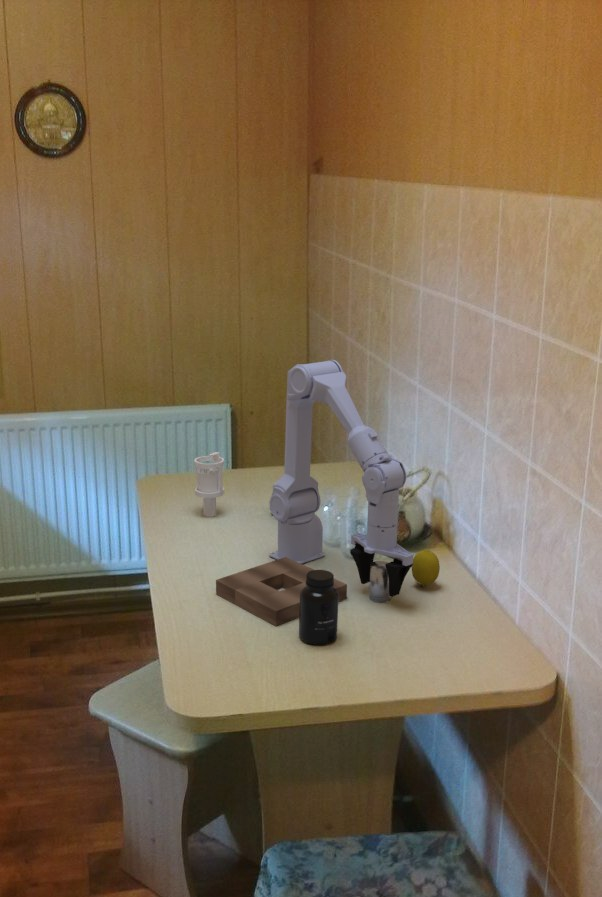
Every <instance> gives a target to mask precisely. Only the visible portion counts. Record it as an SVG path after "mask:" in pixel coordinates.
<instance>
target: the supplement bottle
mask: <svg viewBox="0 0 602 897" xmlns="http://www.w3.org/2000/svg"><path fill="white" fill-rule="evenodd" d="M334 576H335V575H334V573H333V572H331V571H329V570H325V569H314V570H312V571H309V572H308V573H307V575H306V586H305V587H304V588H303V589H302V590H301V592H300V610H299V619H298V636H299V639H301V640H302V641H303V642H304V643H306V644H309V645H314V646H324V645H330V644H332V643H333V642H334V641H335V640H336V639H337V636H338V622H339V618H338V617H339V602H340V601H339V594H338V592H337V590H336V589H335V588H334V587H333V586H334V579H335V578H334ZM338 601H339V602H338Z"/></svg>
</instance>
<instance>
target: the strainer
mask: <svg viewBox="0 0 602 897" xmlns="http://www.w3.org/2000/svg"><path fill="white" fill-rule="evenodd" d="M193 460H194V463H193V465H194V466H195V469H196V473H195V474H196V487H195V488H194V495H195V496H196V497H199V498H202V501H203V502H202V503H203V506H202V507H203V517H207V518H214V517H216V516H217V498H218V497H219V498H220V497H222V496H223V495H224V494H225V487H224V486H223V485H224V484H223V466H224V465H225V458H223V457H221V452H218V451H215V452H212V453H209V454H208V455H203V456H198V457H195V458H194V459H193ZM207 461H208V462H210V461H212V462H213V463H203V462H207ZM207 471H208V472H207Z"/></svg>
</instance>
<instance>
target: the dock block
mask: <svg viewBox="0 0 602 897" xmlns="http://www.w3.org/2000/svg"><path fill="white" fill-rule="evenodd" d="M312 570H315V569H314V568H311V567H309V566H307V565H305V564H304V563H302V564H301V563H298V562H296V561H294V560H292V559H289V558H287V557H284V558H281V559H278V560H277V559H275V560H272V561H269V562H267V563H263V564H260V565H257V566H254V567H251V568H248V569H245V570H242V571H239V572H236V573H233V574H230V575H227V576H224V577H221V578H218V579H215V595H217V596H219V597H221V599H224V600H227V601H228V602H231V603H232V604H233V605H235V606H237V607H239V608H241V609H243V610H245V611H247V612H248V613H251V614H253V615H254V616H256V617H257V618H260V619H261V620H263V621H265V622H267V623H270V624H271V625H273V626H274V627H278V626H281V625H283V624H285V623H288V622H290V621H293V620H296V619H298V618H299V610H300V592H301V590H302V589H303V588H304V587H305V586H306V575H307V573H308V572H309V571H312ZM333 587H334V588H335V589H336V590H337V592H338V594H339V601H338V603H339V602H341V601H345V600H346V599H348V597H347V596H348V594H347V592H348V584H347V583H345V582H343V581H340V580H338V579H336V578H334V586H333ZM282 588H283V590H278V589H282Z"/></svg>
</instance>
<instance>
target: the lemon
mask: <svg viewBox="0 0 602 897" xmlns="http://www.w3.org/2000/svg"><path fill="white" fill-rule="evenodd" d="M411 574H412V577H413V579H414V580H415V582H417V583H418V584H420V585H421V586H422V587H425V586H426V587H428V585H431V584H433V583H434V582H435V581H436V580H437V579H438V577H439V574H440V560H439V558H438V556H437V554H436V553H434V552H433V551H431V550H430V549H428V548H424V549H422V550H420V551H418V552H417V553H416V554H415V555H414V556H413V565H412V567H411Z"/></svg>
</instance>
